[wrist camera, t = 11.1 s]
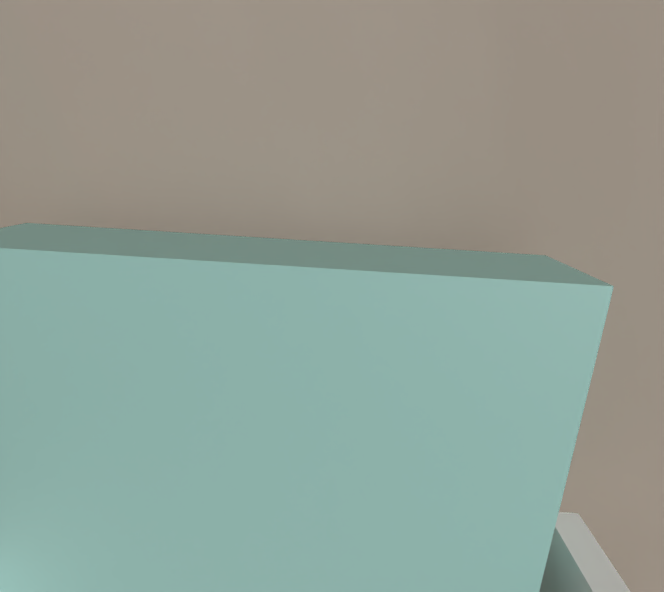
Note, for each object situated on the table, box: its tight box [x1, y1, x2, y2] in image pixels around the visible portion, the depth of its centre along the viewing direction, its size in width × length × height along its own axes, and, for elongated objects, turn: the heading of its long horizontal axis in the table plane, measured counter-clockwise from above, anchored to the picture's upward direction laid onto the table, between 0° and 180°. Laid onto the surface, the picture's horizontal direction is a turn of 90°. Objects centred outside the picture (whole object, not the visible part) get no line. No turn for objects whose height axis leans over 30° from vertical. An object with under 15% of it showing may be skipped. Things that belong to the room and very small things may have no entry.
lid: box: [0, 223, 614, 592], centre depth 11 cm, size 15×11×4 cm
